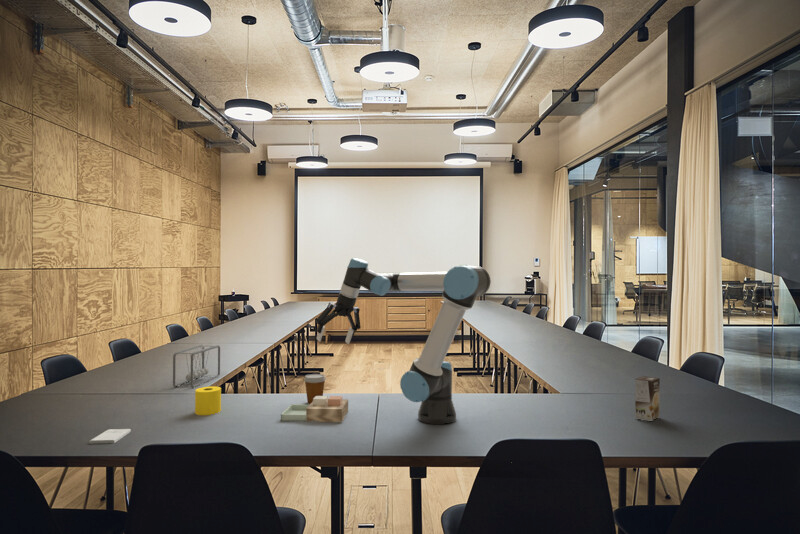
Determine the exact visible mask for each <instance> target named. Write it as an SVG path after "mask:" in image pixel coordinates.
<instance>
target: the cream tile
mask: <svg viewBox="0 0 800 534" xmlns="http://www.w3.org/2000/svg"><path fill="white" fill-rule="evenodd" d="M328 399H329V396H328V395H323V396H315V397H314V399H313V405H326V404H327V403H328Z"/></svg>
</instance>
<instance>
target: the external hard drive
mask: <svg viewBox="0 0 800 534" xmlns="http://www.w3.org/2000/svg"><path fill="white" fill-rule="evenodd" d="M131 432H132V430H131V429H130V428H118V429H117V428H115V429H114V428H112V429H111V428H110V429H107V430H105V431H104V432H101V433H100V434H98V435H97V436H95V437H93V438H92V439H90V440H89V442H88V443H89V444H90V445H91V444H92V445H93V444H115V443H116V442H118V441H120V440H121V439H122V438H124V437H125V436H126V435H128V434H129V433H131Z"/></svg>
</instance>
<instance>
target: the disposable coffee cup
mask: <svg viewBox="0 0 800 534" xmlns="http://www.w3.org/2000/svg"><path fill="white" fill-rule="evenodd" d="M326 379H327V378H326V376H325V374H322V373H312V374H306V375H304V378H303V380H304V383H305V392H306V393H305V394H306V398H307V399H306V400H307V405H310V404H311V403H312V402H313V399H314V397H315V396H324V389H325V388H324V387H325V383H326Z"/></svg>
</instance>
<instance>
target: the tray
mask: <svg viewBox="0 0 800 534" xmlns="http://www.w3.org/2000/svg"><path fill="white" fill-rule="evenodd" d="M309 405H310V404H298V403H297V404H295V403H294V404H290V405H289V406H288V407H287V408H286V409H285V410H284V411H283V412H281V414H280V421H281V422H307V421H306V408H307V407H308V406H309Z"/></svg>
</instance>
